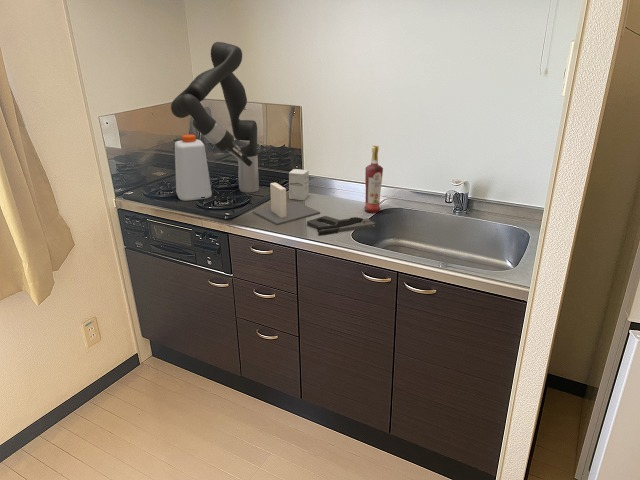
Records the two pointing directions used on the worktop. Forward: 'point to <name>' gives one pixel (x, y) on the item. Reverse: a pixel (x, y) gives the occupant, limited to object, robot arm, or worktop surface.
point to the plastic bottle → (191, 169)
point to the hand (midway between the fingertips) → (250, 164)
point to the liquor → (373, 182)
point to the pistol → (339, 224)
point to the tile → (278, 199)
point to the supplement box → (298, 184)
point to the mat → (293, 213)
